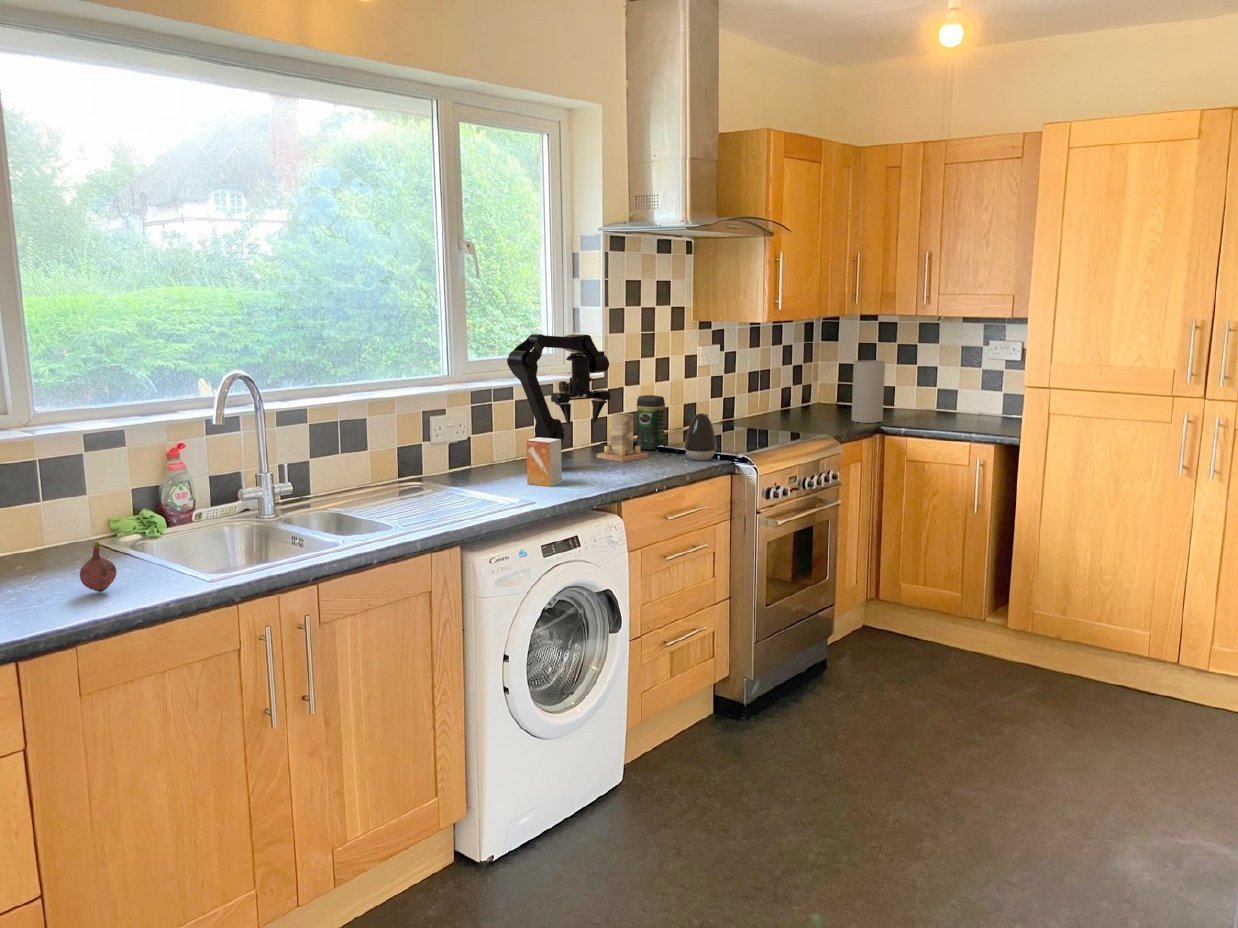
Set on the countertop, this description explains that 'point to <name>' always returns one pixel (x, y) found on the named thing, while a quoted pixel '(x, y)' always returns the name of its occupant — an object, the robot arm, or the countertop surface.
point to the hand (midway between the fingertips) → (581, 423)
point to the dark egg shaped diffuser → (700, 438)
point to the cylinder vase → (868, 391)
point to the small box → (544, 461)
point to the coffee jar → (650, 421)
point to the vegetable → (97, 572)
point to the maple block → (622, 433)
